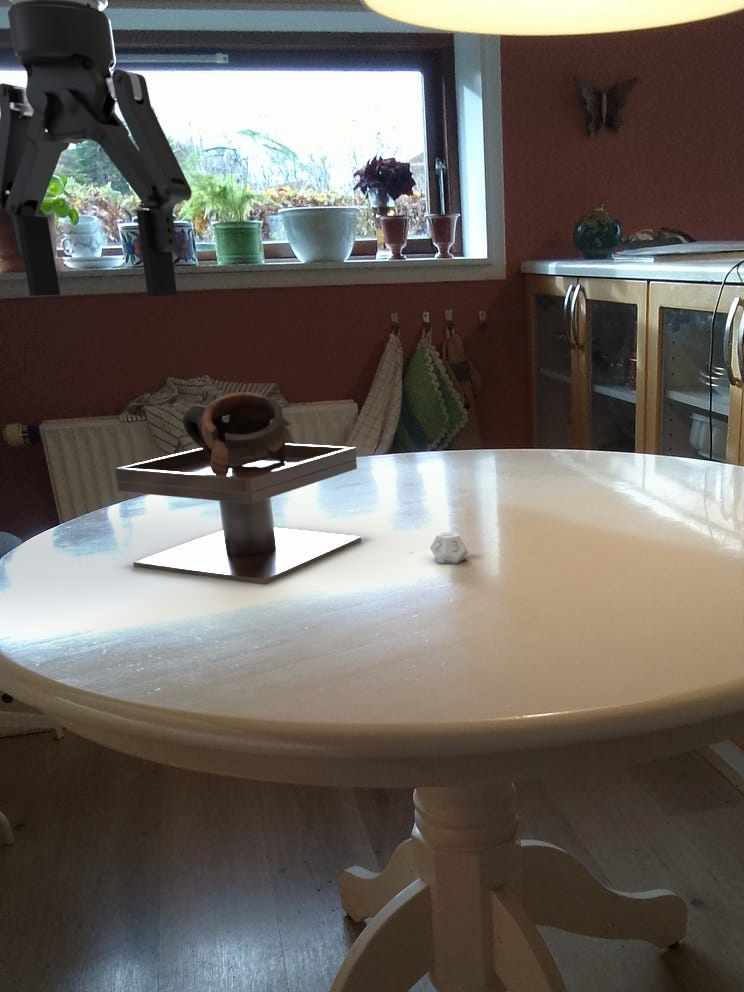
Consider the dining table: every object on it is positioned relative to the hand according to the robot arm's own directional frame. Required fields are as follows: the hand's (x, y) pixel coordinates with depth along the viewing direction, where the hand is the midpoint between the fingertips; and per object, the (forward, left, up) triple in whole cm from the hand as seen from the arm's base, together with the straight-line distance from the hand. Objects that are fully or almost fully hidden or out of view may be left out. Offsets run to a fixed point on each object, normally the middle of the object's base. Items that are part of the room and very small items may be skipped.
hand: (102, 296), depth 81 cm
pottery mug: (+7, +8, -16) cm, 19 cm away
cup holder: (+7, +8, -25) cm, 27 cm away
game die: (+27, +13, -26) cm, 39 cm away
